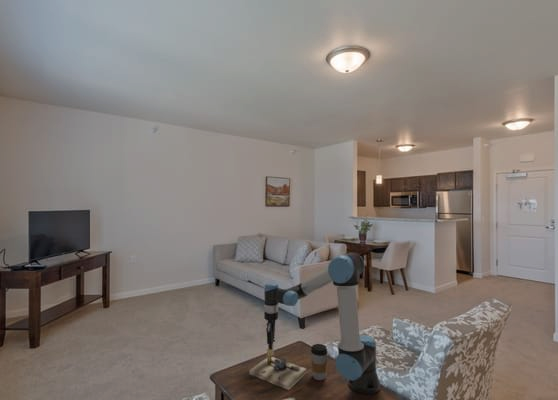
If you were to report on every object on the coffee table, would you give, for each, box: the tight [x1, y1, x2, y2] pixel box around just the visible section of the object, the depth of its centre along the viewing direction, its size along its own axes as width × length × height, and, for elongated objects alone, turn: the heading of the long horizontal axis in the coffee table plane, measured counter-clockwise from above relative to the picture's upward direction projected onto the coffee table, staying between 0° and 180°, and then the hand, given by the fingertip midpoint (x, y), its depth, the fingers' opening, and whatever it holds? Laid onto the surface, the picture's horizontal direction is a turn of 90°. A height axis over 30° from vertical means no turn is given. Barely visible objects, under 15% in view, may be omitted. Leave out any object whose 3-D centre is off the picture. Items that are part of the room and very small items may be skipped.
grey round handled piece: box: [266, 348, 290, 370], centre depth 155 cm, size 14×9×7 cm, turn 57°
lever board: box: [248, 356, 308, 391], centre depth 153 cm, size 24×18×4 cm
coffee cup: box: [310, 343, 328, 381], centre depth 150 cm, size 8×8×15 cm
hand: (270, 354), depth 162 cm, fingers closed
